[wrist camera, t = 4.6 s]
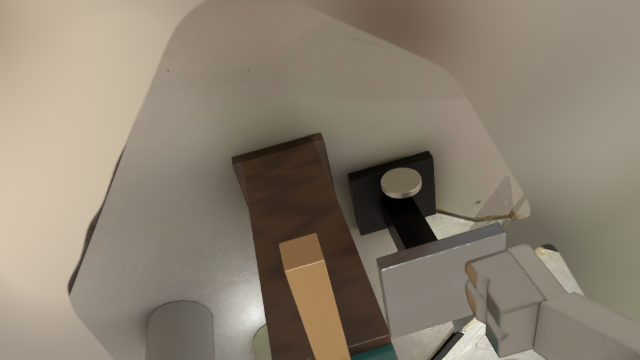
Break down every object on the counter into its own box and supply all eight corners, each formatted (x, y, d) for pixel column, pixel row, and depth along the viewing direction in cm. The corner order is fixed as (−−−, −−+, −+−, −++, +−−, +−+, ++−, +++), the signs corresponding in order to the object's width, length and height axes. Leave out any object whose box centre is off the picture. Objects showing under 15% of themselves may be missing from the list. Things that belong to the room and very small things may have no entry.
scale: (436, 141, 56) (506, 232, 44) (439, 210, 63) (501, 306, 51) (337, 169, 56) (380, 270, 43) (351, 235, 63) (392, 339, 50)
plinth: (320, 132, 52) (404, 329, 32) (333, 188, 57) (412, 390, 37) (231, 157, 52) (258, 374, 31) (251, 211, 57) (286, 430, 36)
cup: (220, 304, 65) (224, 371, 57) (203, 343, 69) (205, 410, 61) (155, 297, 61) (150, 367, 54) (141, 338, 65) (135, 408, 58)
